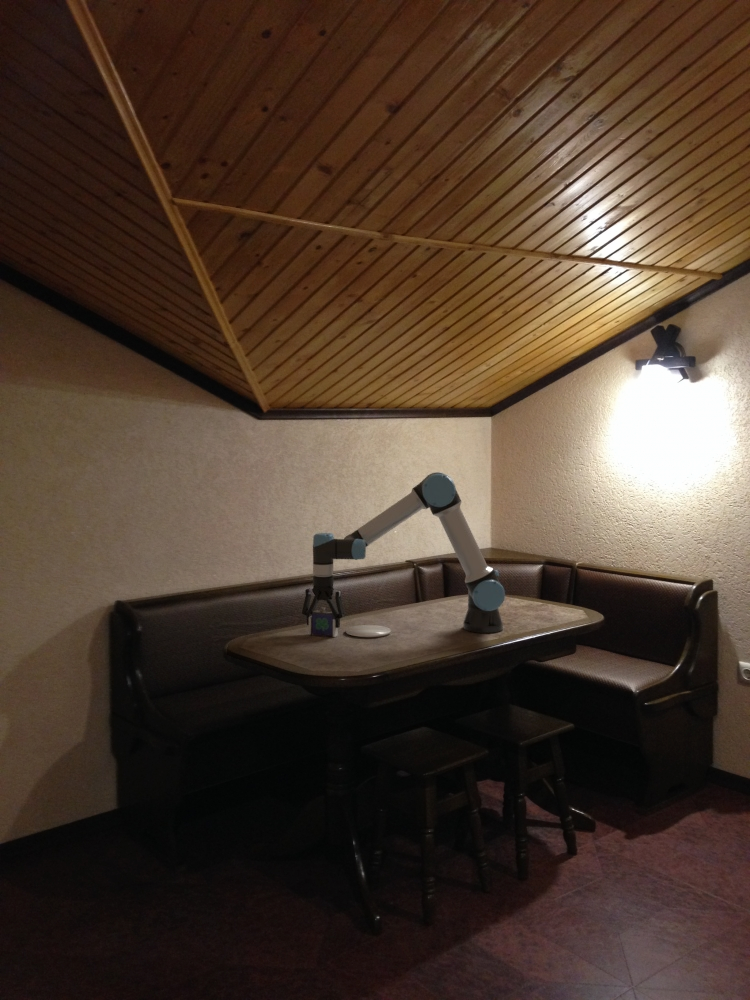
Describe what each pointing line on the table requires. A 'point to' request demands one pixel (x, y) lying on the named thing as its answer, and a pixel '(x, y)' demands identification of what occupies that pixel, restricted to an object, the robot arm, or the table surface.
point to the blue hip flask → (322, 623)
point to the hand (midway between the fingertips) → (323, 634)
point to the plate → (368, 631)
